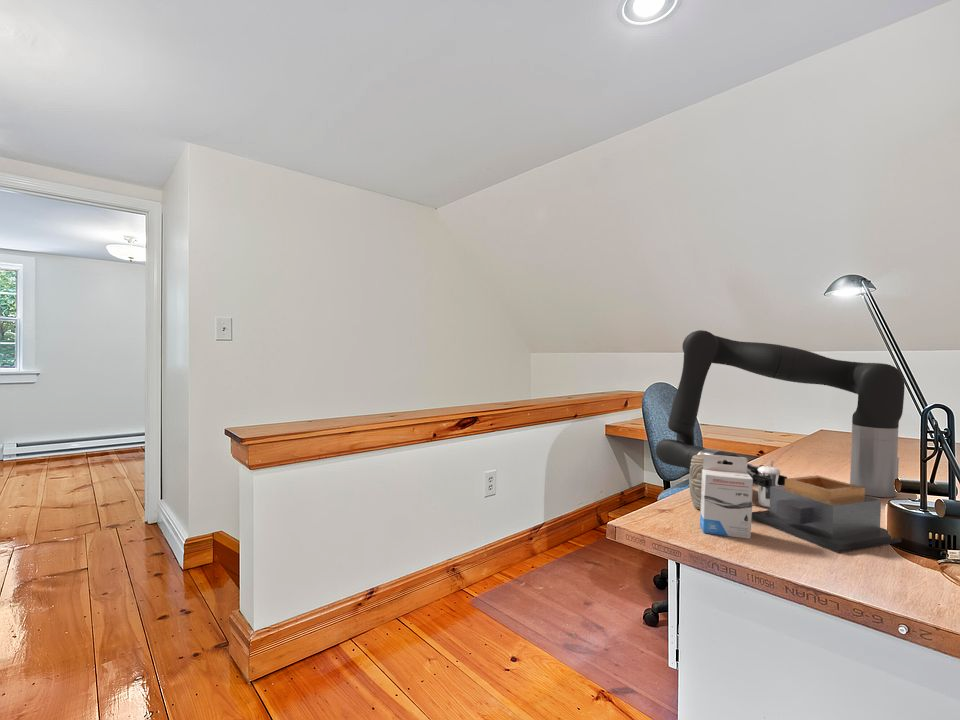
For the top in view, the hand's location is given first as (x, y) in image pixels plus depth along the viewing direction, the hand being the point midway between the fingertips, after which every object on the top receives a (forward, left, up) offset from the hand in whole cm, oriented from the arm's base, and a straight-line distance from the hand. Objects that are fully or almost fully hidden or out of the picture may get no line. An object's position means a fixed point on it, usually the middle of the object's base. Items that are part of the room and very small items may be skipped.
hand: (778, 482), depth 110 cm
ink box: (+23, +7, -6) cm, 25 cm away
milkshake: (0, -3, -6) cm, 7 cm away
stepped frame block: (+3, +12, -6) cm, 14 cm away
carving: (+16, -5, -6) cm, 18 cm away
